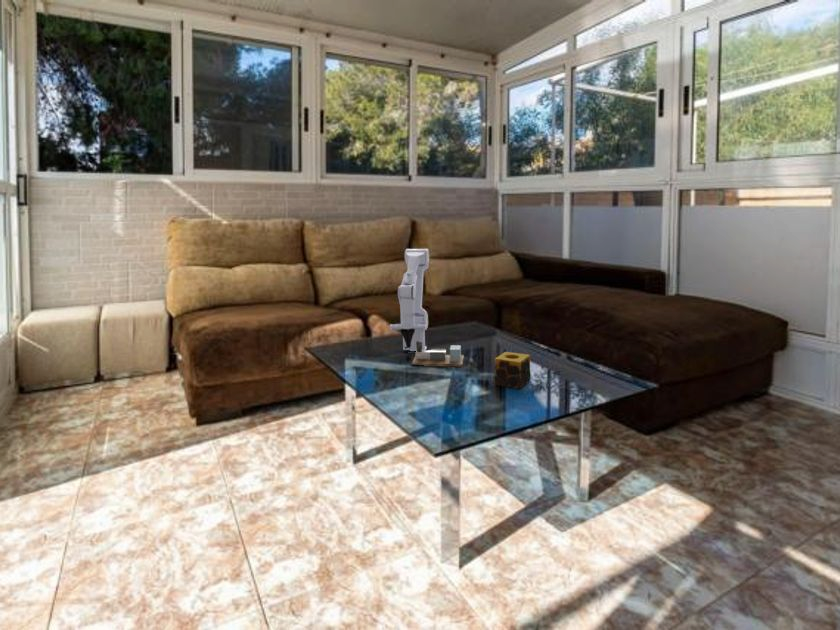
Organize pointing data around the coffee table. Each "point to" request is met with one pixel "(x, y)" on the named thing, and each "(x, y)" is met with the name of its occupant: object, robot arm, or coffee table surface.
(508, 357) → the candle
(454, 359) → the block
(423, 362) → the guide board
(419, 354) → the bolt
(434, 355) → the channel
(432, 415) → the coffee table surface
